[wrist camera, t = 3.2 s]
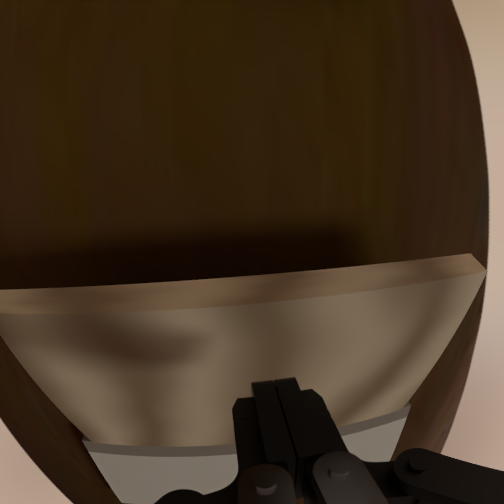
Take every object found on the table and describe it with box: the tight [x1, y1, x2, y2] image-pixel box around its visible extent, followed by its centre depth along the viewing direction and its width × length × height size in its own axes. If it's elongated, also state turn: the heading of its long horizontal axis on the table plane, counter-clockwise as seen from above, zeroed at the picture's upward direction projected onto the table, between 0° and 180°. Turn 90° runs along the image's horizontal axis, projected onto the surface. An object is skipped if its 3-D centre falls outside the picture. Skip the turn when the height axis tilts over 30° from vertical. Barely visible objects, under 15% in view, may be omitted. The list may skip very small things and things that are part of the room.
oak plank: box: [0, 254, 487, 447], centre depth 16 cm, size 24×14×2 cm, turn 92°
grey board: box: [82, 402, 411, 504], centre depth 21 cm, size 26×10×2 cm, turn 92°
